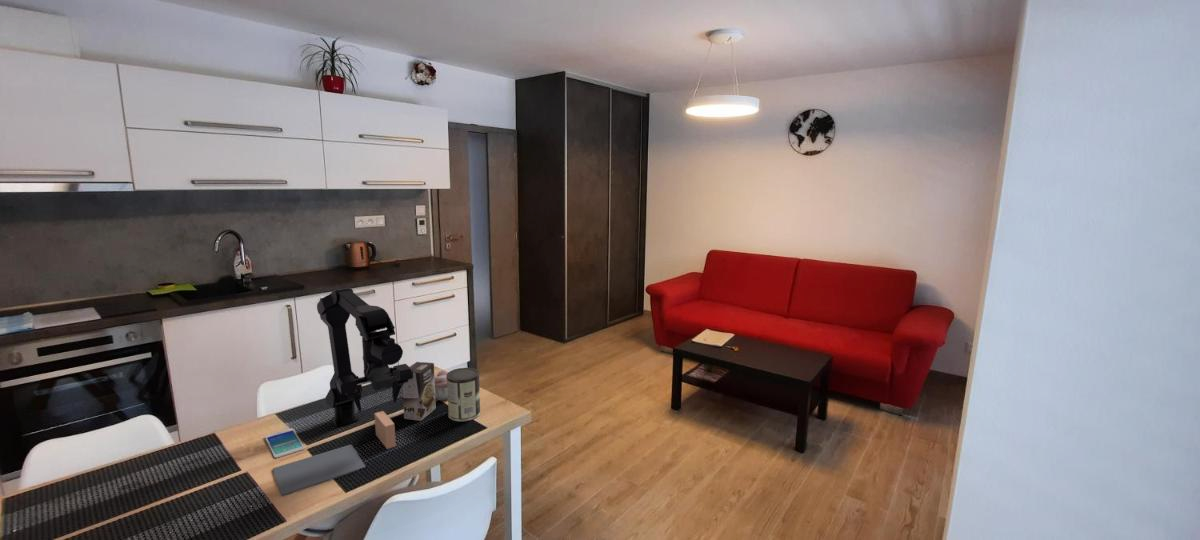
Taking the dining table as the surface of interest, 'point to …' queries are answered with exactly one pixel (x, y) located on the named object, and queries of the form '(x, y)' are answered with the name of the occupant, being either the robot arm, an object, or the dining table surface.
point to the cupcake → (441, 385)
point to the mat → (317, 469)
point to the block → (385, 429)
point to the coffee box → (419, 392)
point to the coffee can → (463, 394)
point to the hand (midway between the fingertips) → (377, 406)
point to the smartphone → (284, 443)
